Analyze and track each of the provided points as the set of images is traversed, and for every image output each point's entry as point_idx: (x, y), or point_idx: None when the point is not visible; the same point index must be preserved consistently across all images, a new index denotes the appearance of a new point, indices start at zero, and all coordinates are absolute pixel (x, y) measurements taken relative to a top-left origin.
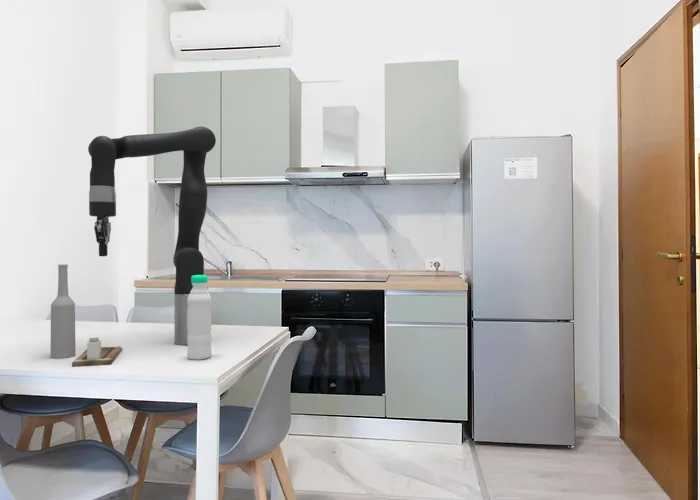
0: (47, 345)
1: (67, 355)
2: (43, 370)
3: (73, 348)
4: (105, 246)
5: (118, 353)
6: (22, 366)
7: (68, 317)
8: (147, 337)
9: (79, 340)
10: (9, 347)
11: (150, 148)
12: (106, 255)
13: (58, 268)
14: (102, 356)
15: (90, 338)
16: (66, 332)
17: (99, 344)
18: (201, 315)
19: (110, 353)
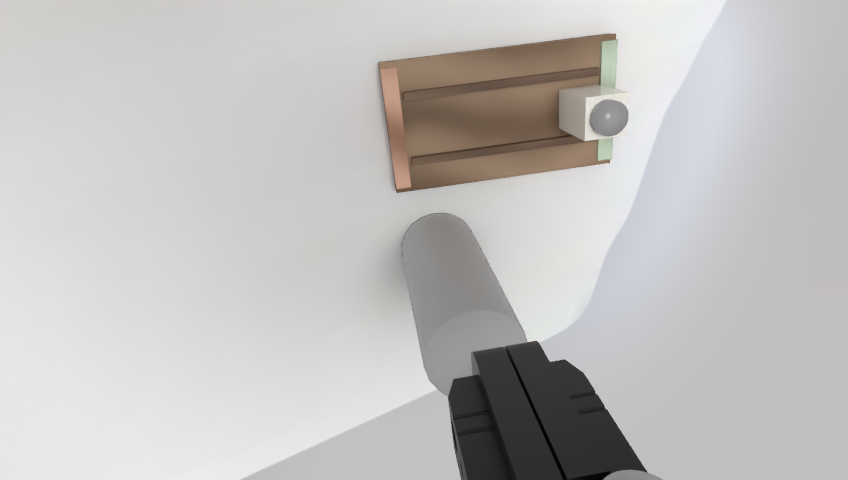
0: (252, 367)
1: (468, 227)
2: (623, 223)
3: (452, 223)
4: (590, 454)
5: (462, 52)
6: (556, 299)
7: (499, 289)
8: (48, 21)
9: (152, 303)
10: (281, 451)
11: None
12: (530, 342)
13: None
14: (582, 77)
15: (606, 134)
16: (488, 264)
17: (608, 92)
18: None
19: (497, 74)
